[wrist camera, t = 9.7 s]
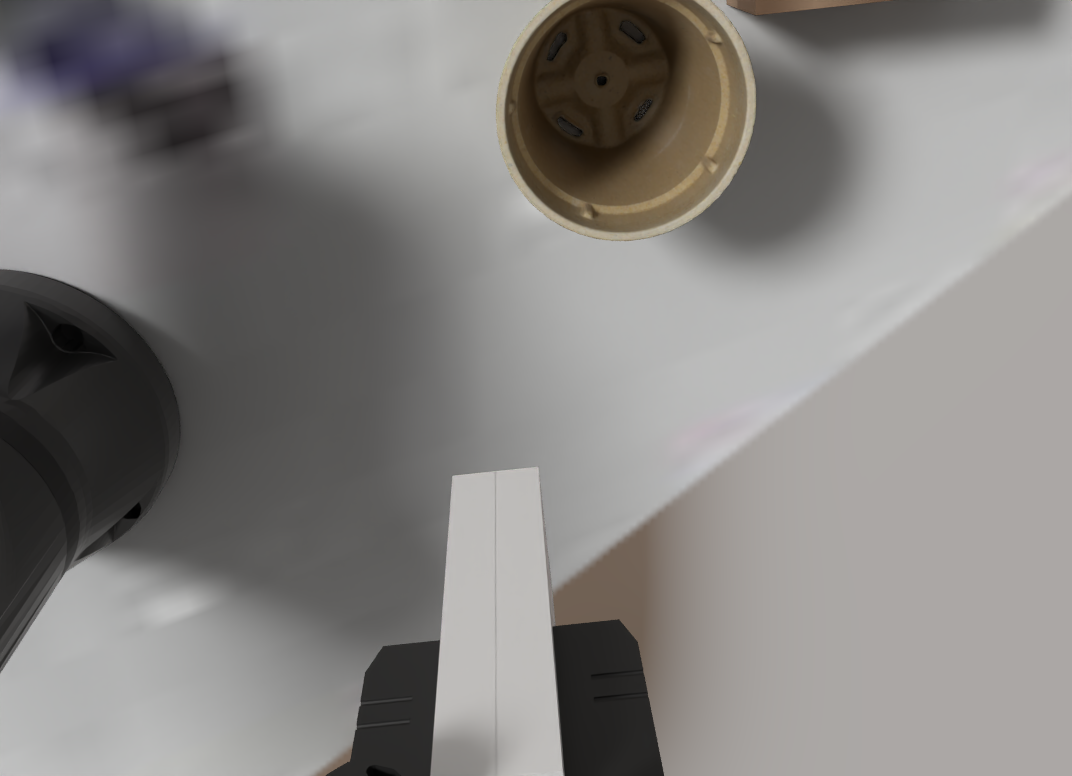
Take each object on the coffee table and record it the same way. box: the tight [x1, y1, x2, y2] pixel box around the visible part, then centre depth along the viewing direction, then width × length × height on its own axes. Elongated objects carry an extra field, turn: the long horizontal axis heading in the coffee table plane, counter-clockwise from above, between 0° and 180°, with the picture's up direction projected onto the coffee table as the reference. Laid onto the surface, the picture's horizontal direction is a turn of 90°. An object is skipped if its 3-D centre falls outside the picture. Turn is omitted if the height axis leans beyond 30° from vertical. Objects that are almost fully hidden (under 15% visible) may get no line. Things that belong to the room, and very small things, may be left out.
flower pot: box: [496, 0, 756, 241], centre depth 38 cm, size 9×9×9 cm
